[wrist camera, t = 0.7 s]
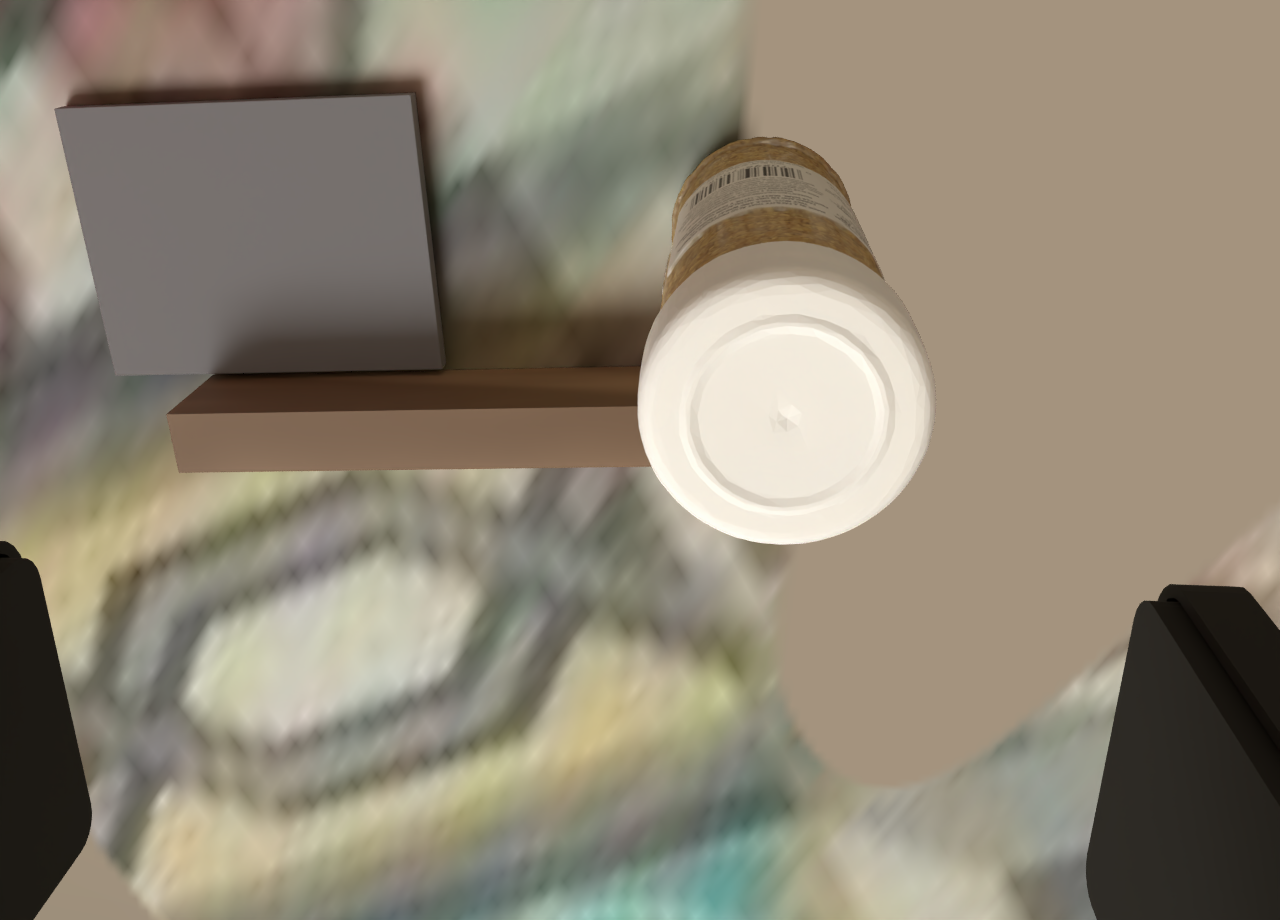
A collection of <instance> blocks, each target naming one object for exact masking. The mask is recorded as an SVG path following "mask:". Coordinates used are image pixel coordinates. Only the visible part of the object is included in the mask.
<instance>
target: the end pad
mask: <svg viewBox="0 0 1280 920" xmlns="http://www.w3.org/2000/svg"><path fill="white" fill-rule="evenodd" d="M55 114H56V118H57V123H58V127H59V131H60V136H61V140H62V144H63V149H64V153H65V157H66V162H67V166H68V170H69V175H70V179H71V183H72V188H73V192H74V197H75V201H76V205H77V210H78V214H79V218H80V223H81V227H82V231H83V236H84V240H85V244H86V249H87V253H88V258H89V262H90V266H91V271H92V275H93V279H94V284H95V288H96V292H97V297H98V301H99V305H100V310H101V314H102V318H103V323H104V327H105V332H106V336H107V340H108V345H109V349H110V353H111V358H112V362H113V366H114V371H115V375H116V376H121V375H171V374H222V373H272V372H322V371H373V370H423V369H442V368H443V367H444V365H445V364H446V358H445V349H444V341H443V332H442V323H441V314H440V306H439V297H438V288H437V279H436V270H435V262H434V253H433V244H432V235H431V227H430V218H429V209H428V200H427V192H426V183H425V174H424V165H423V157H422V148H421V139H420V130H419V122H418V113H417V104H416V95H415V93H393V94H368V95H342V96H316V97H291V98H265V99H240V100H214V101H188V102H163V103H137V104H111V105H86V106H64V107H60V108H56V109H55Z"/></svg>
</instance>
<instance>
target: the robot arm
mask: <svg viewBox="0 0 1280 920" xmlns="http://www.w3.org/2000/svg"><path fill="white" fill-rule="evenodd" d="M91 820H92V809H91V802H90V797H89V793H88V788H87V784H86V779H85V775H84V770H83V766H82V761H81V757H80V753H79V748H78V744H77V739H76V735H75V730H74V726H73V721H72V717H71V712H70V708H69V703H68V699H67V694H66V690H65V685H64V681H63V676H62V672H61V667H60V663H59V659H58V654H57V650H56V645H55V641H54V636H53V632H52V627H51V623H50V618H49V614H48V609H47V605H46V600H45V596H44V591H43V587H42V582H41V578H40V575H39V572H38V569H37V567H36V566H35V565H34V563H33V562H32V561H30V560H28V559H26V558H21V555H20V554H19V552H18V551H17V549H16V548H15V547H14V546H13V545H11V544H10V543H8V542H6V541H0V920H33V919H34V918H35V917H36V915H37V914H38V912H39V911H40V910H41V908H42V907H43V905H44V904H45V902H46V901H47V900H48V898H49V897H50V895H51V894H52V892H53V891H54V889H55V888H56V887H57V885H58V884H59V882H60V881H61V880H62V878H63V877H64V875H65V874H66V873H67V871H68V870H69V868H70V867H71V865H72V864H73V863H74V861H75V859H76V858H77V857H78V855H79V854H80V853H81V851H82V849H83V847H84V846H85V844H86V841H87V838H88V835H89V832H90V827H91ZM1086 879H1087V888H1088V894H1089V898H1090V902H1091V905H1092V908H1093V910H1094V913H1095V916H1096V918H1097V920H1280V630H1279V629H1278V628H1277V626H1276V625H1275V624H1274V623H1273V621H1272V620H1271V619H1270V618H1269V616H1268V615H1267V614H1266V612H1265V611H1264V610H1263V609H1262V607H1261V606H1260V605H1259V604H1258V602H1257V601H1256V600H1255V599H1254V597H1253V596H1252V595H1251V593H1249V592H1248V591H1247V590H1246V589H1245V588H1243V587H1230V586H1203V585H1176V584H1169V585H1168V586H1167V587H1165V588H1164V589H1163V591H1162V593H1161V594H1160V596H1159V599H1158V601H1143V602H1142V603H1141V604H1140V605H1139V607H1138V608H1137V611H1136V614H1135V617H1134V621H1133V626H1132V632H1131V637H1130V642H1129V647H1128V652H1127V657H1126V662H1125V667H1124V672H1123V677H1122V682H1121V687H1120V692H1119V697H1118V702H1117V707H1116V712H1115V717H1114V722H1113V727H1112V732H1111V737H1110V742H1109V747H1108V752H1107V757H1106V762H1105V767H1104V773H1103V778H1102V783H1101V788H1100V793H1099V798H1098V803H1097V808H1096V813H1095V818H1094V823H1093V828H1092V833H1091V838H1090V843H1089V848H1088V853H1087V861H1086Z"/></svg>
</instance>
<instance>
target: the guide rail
mask: <svg viewBox="0 0 1280 920" xmlns="http://www.w3.org/2000/svg"><path fill="white" fill-rule="evenodd" d="M640 370H641V366H627V367H576V368H526V369H475V370H425V371H374V372H324V373H273V374H223V375H213V376H211V377H210V378H209V379H208V380H207V381H205V382H204V383H203V384H202V385H201V386H199V387H198V388H197V389H196V390H195V391H194V392H192V393H191V394H190V395H189V396H188V397H186V398H185V399H184V400H183V401H182V402H180V403H179V404H178V405H177V406H176V407H175V408H173V409H172V410H171V411H170V412H169V413H167V414H166V415H167V420H168V424H169V429H170V434H171V438H172V443H173V448H174V452H175V457H176V462H177V466H178V471H179V473H187V472H264V471H341V470H418V469H495V468H572V467H649V466H651V464H650V462H649V459H648V457H647V455H646V453H645V449H644V446H643V443H642V439H641V435H640V431H639V424H638V387H639V377H640Z"/></svg>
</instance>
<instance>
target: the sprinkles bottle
mask: <svg viewBox="0 0 1280 920" xmlns="http://www.w3.org/2000/svg"><path fill="white" fill-rule="evenodd" d="M935 413H936V390H935V380H934V375H933V371H932V367H931V364H930V361H929V358H928V355H927V352H926V349H925V347H924V344H923V342H922V339H921V337H920V334H919V332H918V330H917V328H916V326H915V324H914V322H913V320H912V318H911V316H910V314H909V312H908V310H907V308H906V307H905V305H904V304H903V302H902V300H901V299H900V298H899V296H898V295H897V294H896V293H895V291H894V290H893V289H892V288H891V287H890V286H889V285H888V284H887V283H886V282H885V280H884V277H883V274H882V272H881V269H880V267H879V265H878V263H877V261H876V259H875V257H874V255H873V253H872V250H871V248H870V246H869V244H868V241H867V239H866V237H865V234H864V232H863V230H862V228H861V226H860V224H859V222H858V220H857V218H856V216H855V213H854V212H853V210H852V208H851V204H850V200H849V196H848V194H847V192H846V190H845V187H844V184H843V183H842V181H841V179H840V177H839V175H838V174H837V173H836V172H835V171H834V170H833V169H832V168H831V167H830V165H829V164H828V163H827V162H826V161H825V160H824V159H823V158H822V157H821V156H820V155H818V154H817V153H815V152H814V151H812V150H811V149H809V148H807V147H805V146H803V145H801V144H799V143H796V142H794V141H790V140H787V139H783V138H777V137H773V138H766V137H756V138H752V139H743V140H738V141H735V142H732V143H730V144H727V145H726V146H724V147H723V148H720V149H718V150H717V151H715V152H713V153H712V154H710V155H709V156H707V157H706V158H705V159H704V160H703V161H702V162H701V163H700V164H699V165H698V166H697V168H696V169H695V170H694V172H693V173H692V174H691V175H689V176H688V177H687V179H686V180H685V182H684V184H683V187H682V189H681V191H680V193H679V194H678V197H677V200H676V203H675V206H674V210H673V215H672V248H671V252H670V255H669V258H668V262H667V267H666V272H665V277H664V283H663V288H662V303H661V310H660V312H659V313H658V315H657V317H656V318H655V320H654V323H653V325H652V327H651V330H650V332H649V335H648V338H647V341H646V345H645V348H644V353H643V358H642V364H641V370H640V377H639V387H638V424H639V431H640V435H641V439H642V443H643V446H644V449H645V453H646V455H647V457H648V459H649V462H650V464H651V466H652V468H653V470H654V472H655V474H656V476H657V478H658V479H659V481H660V482H661V483H662V484H663V486H664V487H665V488H666V490H667V491H668V492H669V493H670V494H671V495H672V496H673V498H674V499H675V500H676V501H677V502H678V503H679V504H680V505H682V506H683V507H684V508H685V509H686V510H687V511H689V512H690V513H691V514H692V515H693V516H695V517H696V518H698V519H699V520H701V521H702V522H704V523H706V524H708V525H709V526H711V527H713V528H715V529H717V530H719V531H721V532H723V533H726V534H729V535H731V536H734V537H736V538H741V539H745V540H748V541H753V542H759V543H769V544H802V543H808V542H814V541H819V540H823V539H826V538H830V537H833V536H836V535H839V534H841V533H844V532H847V531H849V530H851V529H853V528H855V527H857V526H859V525H861V524H862V523H864V522H866V521H867V520H869V519H870V518H872V517H873V516H875V515H876V514H878V513H879V512H880V511H881V510H883V509H884V508H885V507H886V506H888V505H889V504H890V503H891V502H892V501H893V500H894V499H895V498H896V497H897V496H898V495H899V494H900V493H901V492H902V490H903V489H904V488H905V487H906V486H907V484H908V483H909V482H910V480H911V479H912V477H913V475H914V474H915V472H916V470H917V469H918V467H919V465H920V464H921V462H922V460H923V458H924V456H925V454H926V452H927V449H928V447H929V443H930V439H931V436H932V432H933V427H934V423H935Z"/></svg>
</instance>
